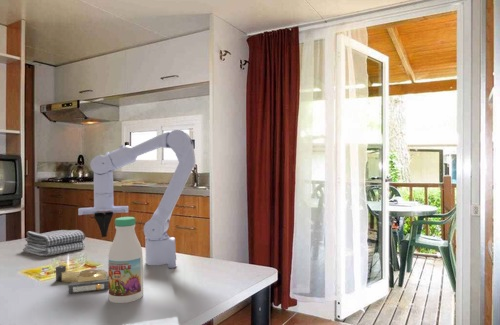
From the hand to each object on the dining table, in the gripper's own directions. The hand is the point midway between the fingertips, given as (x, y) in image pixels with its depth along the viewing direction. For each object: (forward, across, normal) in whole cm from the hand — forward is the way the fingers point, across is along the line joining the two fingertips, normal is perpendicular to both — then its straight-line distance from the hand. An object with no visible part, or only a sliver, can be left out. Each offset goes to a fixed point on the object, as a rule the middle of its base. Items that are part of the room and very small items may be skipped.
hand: (104, 236), depth 109 cm
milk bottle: (+10, +8, -31) cm, 34 cm away
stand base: (+10, 0, -18) cm, 20 cm away
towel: (+10, -21, +31) cm, 39 cm away
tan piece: (+8, -4, -17) cm, 19 cm away
